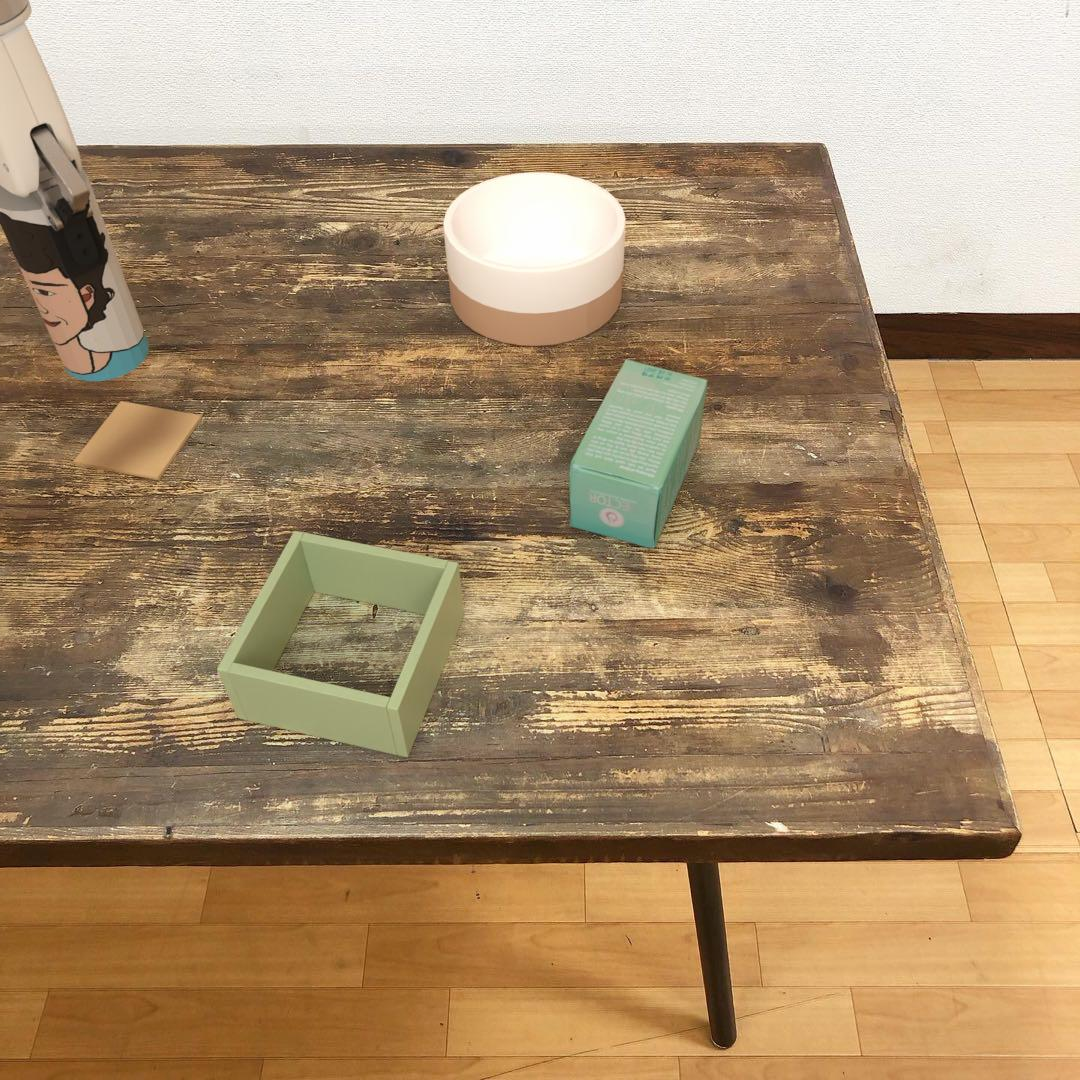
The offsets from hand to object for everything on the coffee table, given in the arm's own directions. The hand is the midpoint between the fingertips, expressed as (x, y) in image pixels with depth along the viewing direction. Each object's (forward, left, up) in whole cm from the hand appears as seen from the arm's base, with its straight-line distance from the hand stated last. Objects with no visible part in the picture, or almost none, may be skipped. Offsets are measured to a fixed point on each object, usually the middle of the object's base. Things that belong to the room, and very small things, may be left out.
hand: (61, 246), depth 79 cm
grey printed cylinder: (0, 0, -10) cm, 10 cm away
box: (+43, +5, -20) cm, 48 cm away
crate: (+27, -18, -20) cm, 38 cm away
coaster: (0, 0, -20) cm, 20 cm away
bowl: (+28, +29, -20) cm, 45 cm away
